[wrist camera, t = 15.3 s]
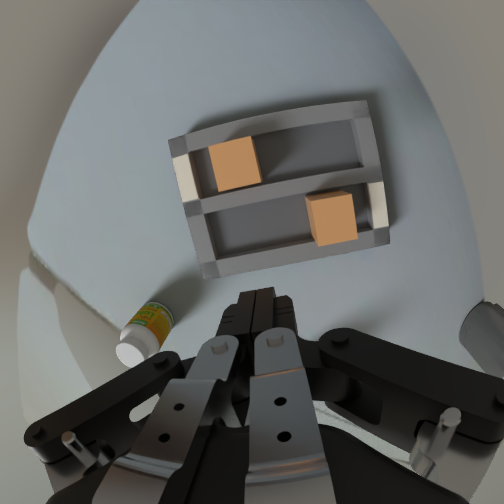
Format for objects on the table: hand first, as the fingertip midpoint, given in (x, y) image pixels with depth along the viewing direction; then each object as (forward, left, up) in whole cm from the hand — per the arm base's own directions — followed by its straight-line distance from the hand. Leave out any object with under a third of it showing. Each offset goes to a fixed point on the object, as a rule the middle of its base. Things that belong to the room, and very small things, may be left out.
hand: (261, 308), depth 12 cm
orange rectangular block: (-6, 0, -19) cm, 21 cm away
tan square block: (+2, -7, -20) cm, 21 cm away
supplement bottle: (+19, +10, -22) cm, 30 cm away
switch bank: (-2, -4, -22) cm, 22 cm away
